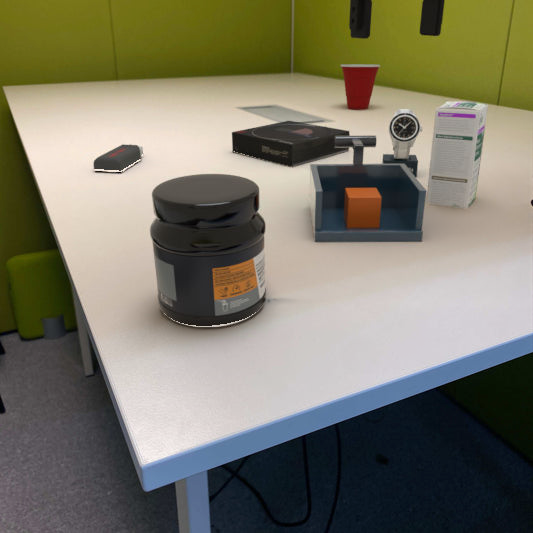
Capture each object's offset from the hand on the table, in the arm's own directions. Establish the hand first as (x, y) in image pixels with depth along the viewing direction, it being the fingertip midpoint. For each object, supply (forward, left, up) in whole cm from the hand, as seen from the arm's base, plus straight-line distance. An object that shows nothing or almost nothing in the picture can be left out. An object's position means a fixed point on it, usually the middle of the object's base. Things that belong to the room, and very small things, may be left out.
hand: (395, 36), depth 64 cm
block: (+3, +4, -22) cm, 22 cm away
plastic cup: (-9, -91, -23) cm, 94 cm away
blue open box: (+3, +2, -23) cm, 23 cm away
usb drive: (+43, -31, -23) cm, 58 cm away
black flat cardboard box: (+11, -40, -23) cm, 48 cm away
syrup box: (-11, -5, -23) cm, 26 cm away
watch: (-7, -22, -23) cm, 33 cm away
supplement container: (+20, +23, -23) cm, 39 cm away
